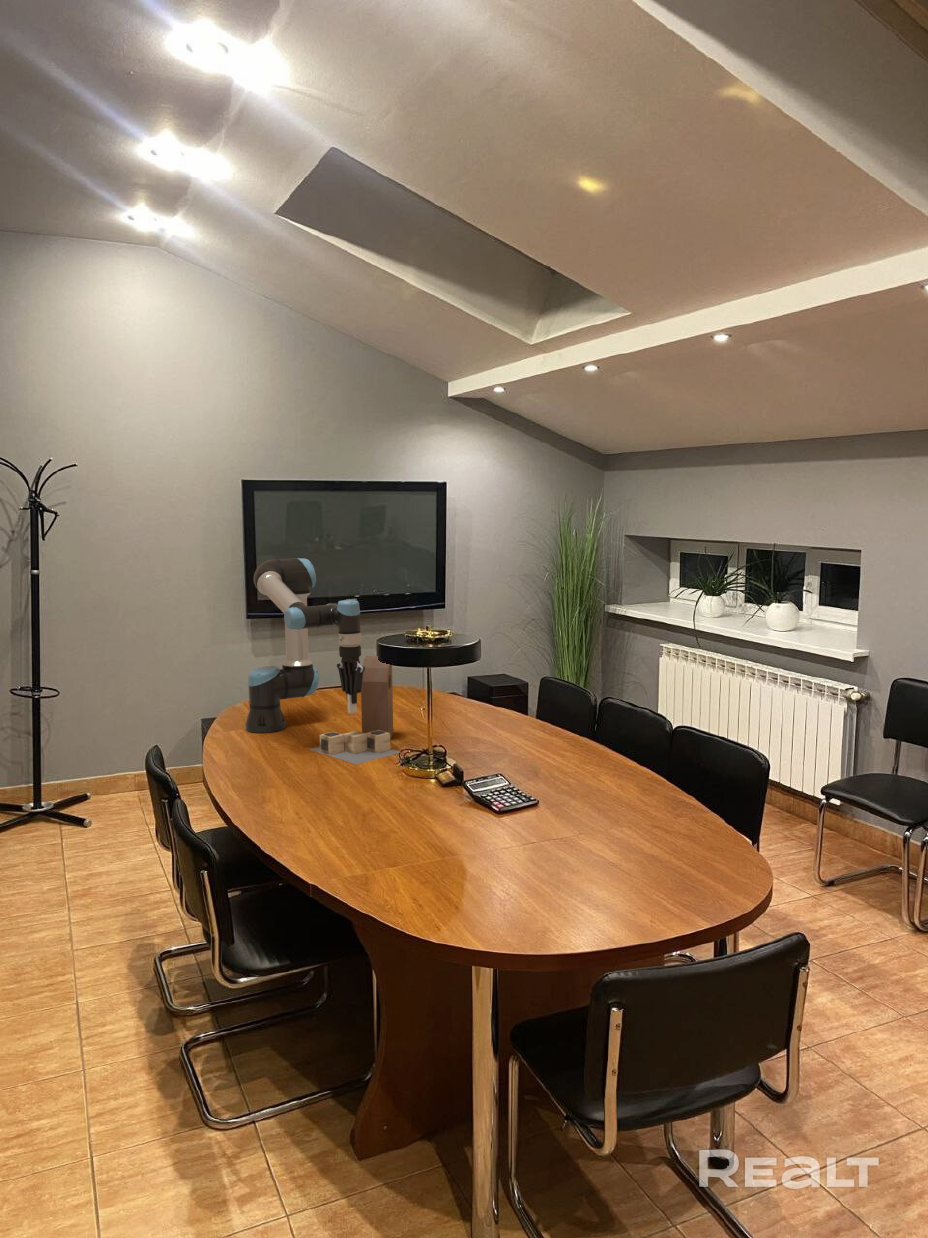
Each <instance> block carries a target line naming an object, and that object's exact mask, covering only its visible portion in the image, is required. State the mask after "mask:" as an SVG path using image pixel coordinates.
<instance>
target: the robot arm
mask: <svg viewBox="0 0 928 1238" xmlns="http://www.w3.org/2000/svg"><path fill="white" fill-rule="evenodd" d="M316 583H317V575H316V571H315V568H314V565H313V563H312V562H311V561H310V560H309V559H307V558H299V557H297V558H296V557H294V558H293V557H292V558H280V559H269V560H266V561H263V562H262V563H261V564H259V565H258V567H256V569H255V571H254V574H253V584H254V586H255V588H256V589H257V590H258V591H259V593H260V594H262V595H264V596H267V597H268V598H269V599H270V600H271V602H273V603H274V604H275V606H276V607H277V608H278V609H279V610H280V611H281V612H282V613H283V615H284V616H283V621H284V629H285V630H284V631H285V635H284V636H285V637H284V639H285V660H284V661H283V662H282V664H281V665H282V667H281V669H280V667H279V666H277V665H269V666H267V665H266V666H261V667H257V668H255V669H253V670H251V671H250V672H249V673H248V682H247V685H248V699H249V700H248V703H249V711H248V712H247V717H246V722H245V730H246V731H247V732H249V733H257V734H259V733H260V734H266V733H274V732H279V731H283V730H284V729H286V727H287V725H286V719H285V717H284V713H283V710H282V708H281V700H289V699H295V698H305V697H307V696H312V695H313V694H314V693H316V691H317V689H318V685H319V680H320V677H319V673H318V672H319V671H318V669H317V667H316V666H314V664H313V661H312V660H311V659H309V633H308V631H309V629H313V628H326V627H337V629H338V645H339V647H338V655H339V656H338V657H340V658H341V662H340V663H337V664H336V668H337V670H338V675H339V679H340V685H341V691H342V692H345V694H346V702H347V713H348V714H355V713H357V711H358V710H357V707H358V705H357V702H358V696H357V695H358V694H361V687H362V679H363V672H364V670H365V667H364V666H363V665H361V661H360V657H361V656H362V646H361V644H362V639H361V638H362V637H361V634H362V633H361V610H360V602H359V601H358V600H356V599H354V600H353V599H344V600H339V601H338V602H337V603H336V602H334V603H327V604H323V605H311V606H310V605H309V606H308V597H309V595H311V592H312V591H311V589H313V588H315V586H316ZM362 666H363V667H362Z"/></svg>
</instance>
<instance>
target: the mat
mask: <svg viewBox="0 0 928 1238" xmlns="http://www.w3.org/2000/svg"><path fill="white" fill-rule="evenodd" d="M309 750H310V751H313V752H316V753H319V754H323V755H326V756H328V757H331V758H332V757H333V758H335V759H337V760H341V761H343V762H344V761H345V762H347V763H350V764H353V765H359V764H363V763H366V762H367V763H368V762H370V761H375V760H378V759H381V758H385V757H388V756H392V755H396V754H399V753H402V751H398V750H395V749H392V748H390V750H388V751H384V752H380V753H374V752H371V751H368V750H367V751H364V752H360V753H356V754H352V753H349V752H345V751H344V752H340V753H336V754H333V755H329V754H326V753H323V752H320V746H318V747H317V746H316V747H314V748H310V749H309Z"/></svg>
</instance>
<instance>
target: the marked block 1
mask: <svg viewBox="0 0 928 1238" xmlns="http://www.w3.org/2000/svg"><path fill="white" fill-rule="evenodd" d="M343 734H344V733H339V732H336V731H330V732H326V733H321V734H319V747H320V752H323V753H326V754H329V755H333V754H336V753H340V752H344V735H343Z"/></svg>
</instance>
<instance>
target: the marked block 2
mask: <svg viewBox="0 0 928 1238" xmlns="http://www.w3.org/2000/svg"><path fill="white" fill-rule="evenodd" d="M366 734H367V750H368V751H371V752H374V753H380V752H384V751H388V750H390V749H391V738H390V733H388V732H384V731H380V730H377V731H373V732H369V733H366Z"/></svg>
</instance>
